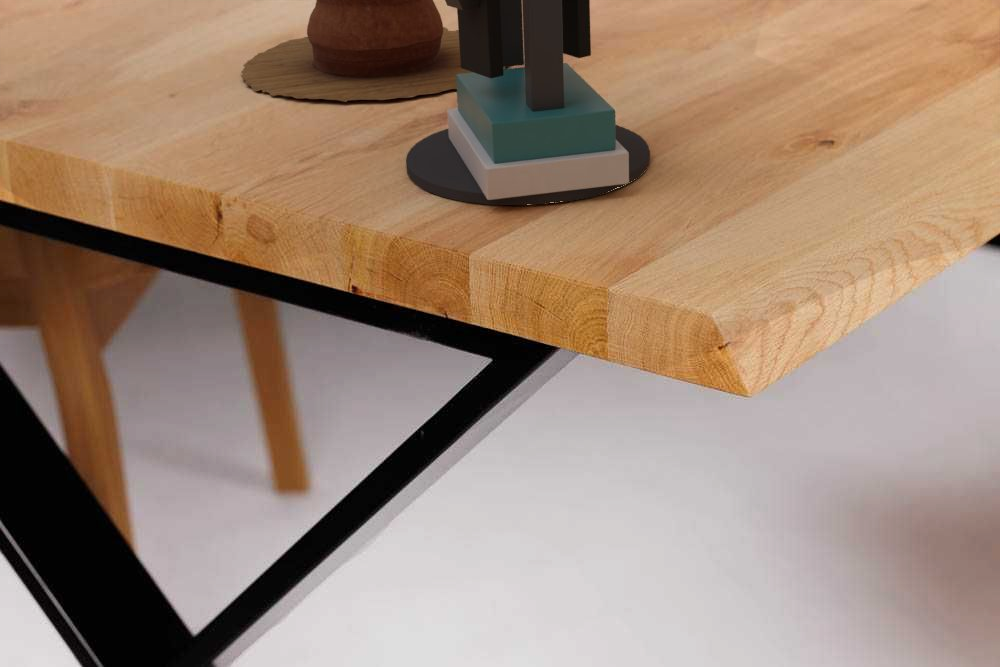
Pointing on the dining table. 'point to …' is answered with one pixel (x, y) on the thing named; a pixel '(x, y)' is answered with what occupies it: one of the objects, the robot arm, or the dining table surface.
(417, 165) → the swivel rest
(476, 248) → the dining table surface
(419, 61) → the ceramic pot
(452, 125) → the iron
